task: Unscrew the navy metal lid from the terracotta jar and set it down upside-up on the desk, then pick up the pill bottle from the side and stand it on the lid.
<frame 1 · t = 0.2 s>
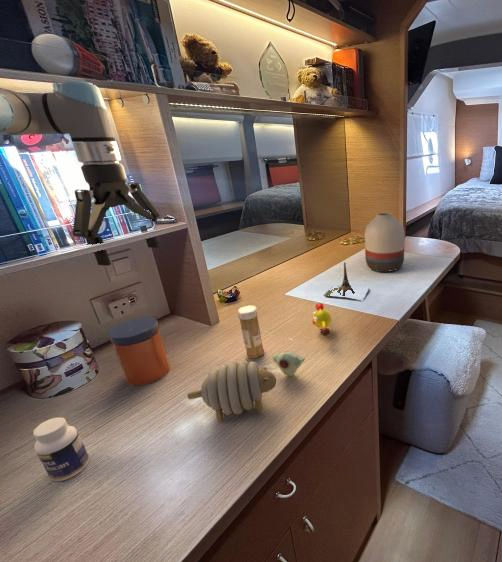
hand: (131, 255, 82), 27 cm above the table, tool pointing down, fingers open, 13 cm apart
toy figure: (322, 331, 100), on the table
sprinkles bottle: (255, 354, 90), on the table
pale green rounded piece: (289, 376, 82), on the table
vase: (384, 268, 149), on the table
jar lid: (133, 328, 79), point 13 cm above the table, screwed on, not yet turned
pill bottle: (71, 469, 59), on the table
jar: (149, 373, 84), on the table
eiffel tower figurine: (347, 294, 125), on the table
toy sheep: (239, 409, 72), on the table
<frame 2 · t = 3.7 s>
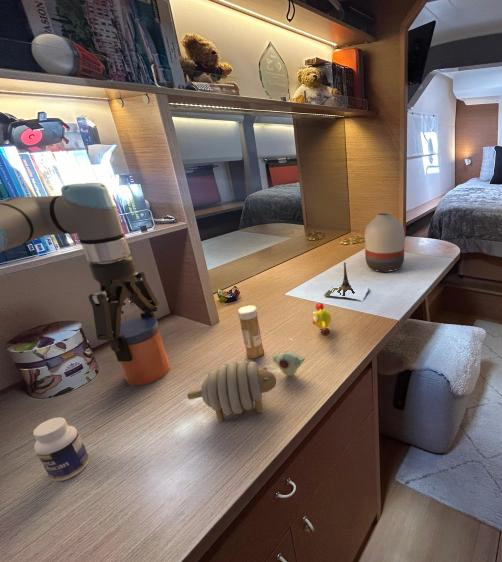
hand: (140, 347, 81), 7 cm above the table, tool pointing down, fingers closed on jar lid, 9 cm apart
jar lid: (133, 328, 79), point 13 cm above the table, screwed on, not yet turned, touching gripper
everything else where it was.
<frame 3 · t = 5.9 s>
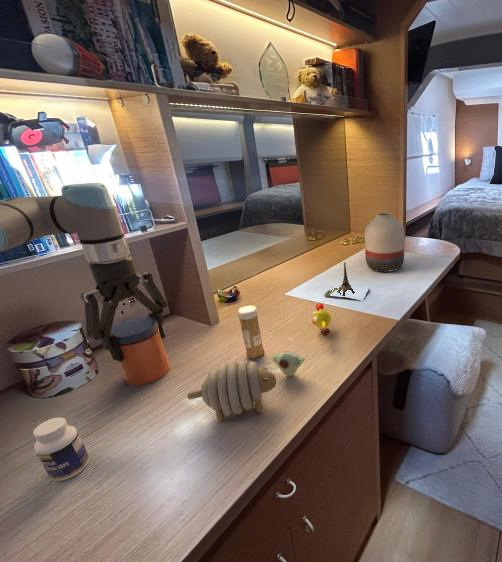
hand: (140, 347, 81), 7 cm above the table, tool pointing down, fingers closed on jar lid, 9 cm apart
jar lid: (133, 327, 79), point 13 cm above the table, off its thread, touching gripper
everything else where it was.
when the fingers open (0 cm above the table, at t = 15.1 s): jar lid drops 1 cm, point 1 cm above the table.
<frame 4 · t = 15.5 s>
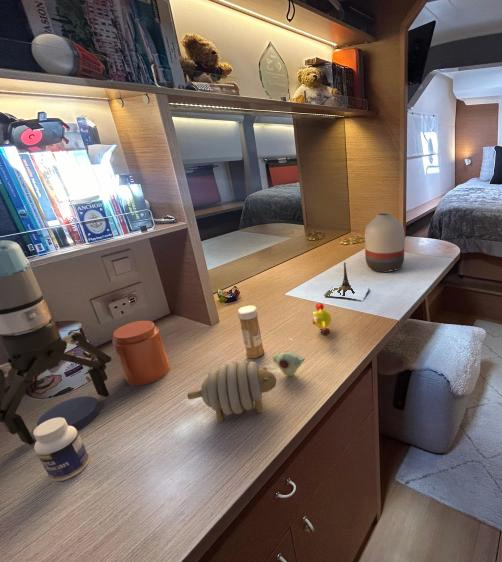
hand: (69, 416, 70), 1 cm above the table, tool pointing down, fingers open, 13 cm apart
jar lid: (68, 413, 69), point 1 cm above the table, off its thread
everything else where it was.
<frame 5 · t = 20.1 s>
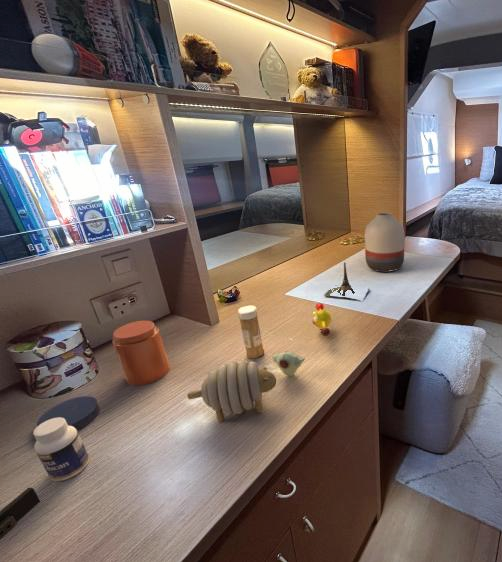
nothing on the table moved.
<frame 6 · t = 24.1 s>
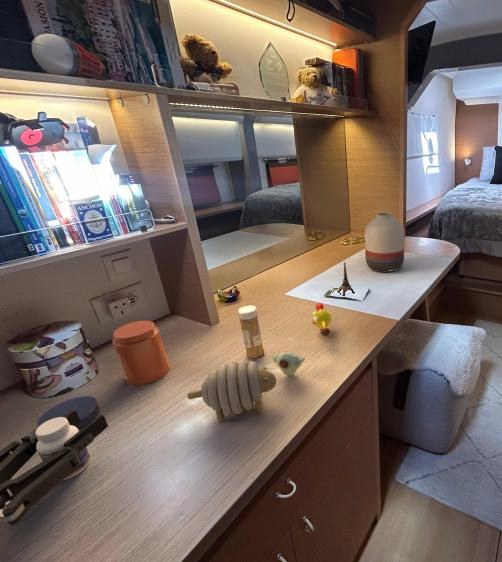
hand: (90, 418, 62), 6 cm above the table, tool horizontal, fingers closed on pill bottle, 5 cm apart
pill bottle: (72, 468, 59), on the table, touching gripper
everything else where it was.
when the fingers open (8 cm above the table, at t = 30.8 s): pill bottle stays where it is, resting on jar lid.
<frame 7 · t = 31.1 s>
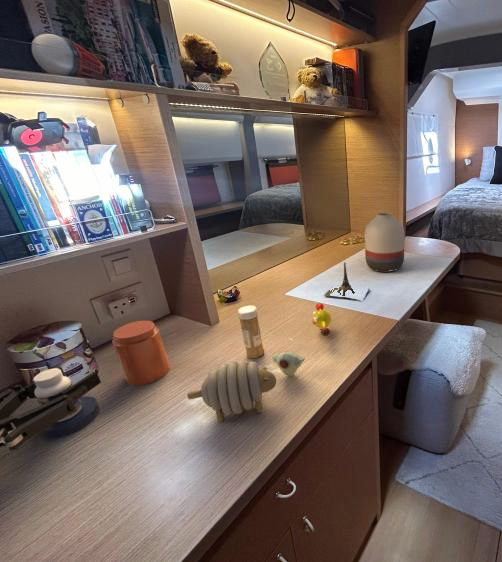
hand: (79, 374, 71), 8 cm above the table, tool horizontal, fingers open, 8 cm apart
jar lid: (68, 413, 69), point 1 cm above the table, off its thread, touching pill bottle
pill bottle: (66, 414, 69), point 2 cm above the table, touching jar lid
everything else where it was.
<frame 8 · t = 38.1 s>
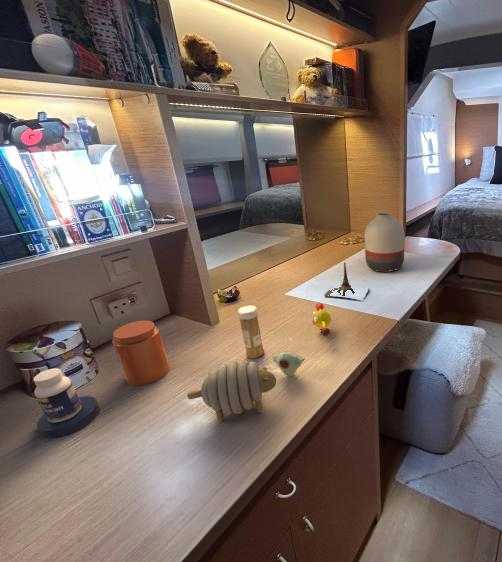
nothing on the table moved.
at the end: jar lid came off its thread; jar lid point 1.5 cm above the table; pill bottle 0.4 cm off-centre on the jar lid, point 0.2 cm above the jar lid's base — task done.
